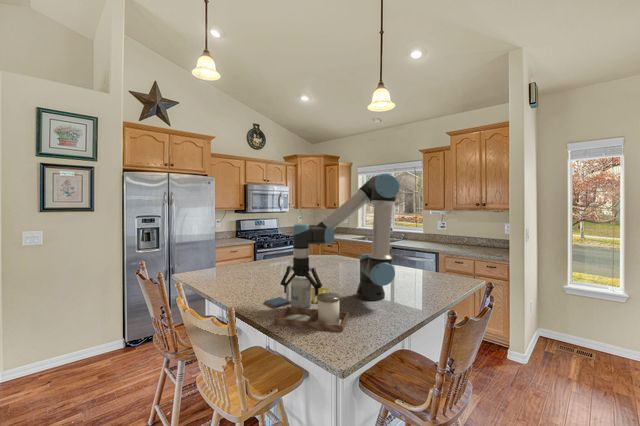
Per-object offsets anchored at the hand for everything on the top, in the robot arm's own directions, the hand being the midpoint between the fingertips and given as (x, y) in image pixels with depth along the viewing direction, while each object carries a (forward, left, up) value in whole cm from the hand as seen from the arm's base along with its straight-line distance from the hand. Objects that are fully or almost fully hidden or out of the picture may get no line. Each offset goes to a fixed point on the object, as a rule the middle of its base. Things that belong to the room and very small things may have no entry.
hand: (301, 301), depth 143 cm
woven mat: (+14, -4, -4) cm, 15 cm away
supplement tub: (0, 0, -4) cm, 4 cm away
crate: (-10, +14, -4) cm, 18 cm away
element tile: (-1, -16, -4) cm, 16 cm away
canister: (-17, +14, -3) cm, 22 cm away
